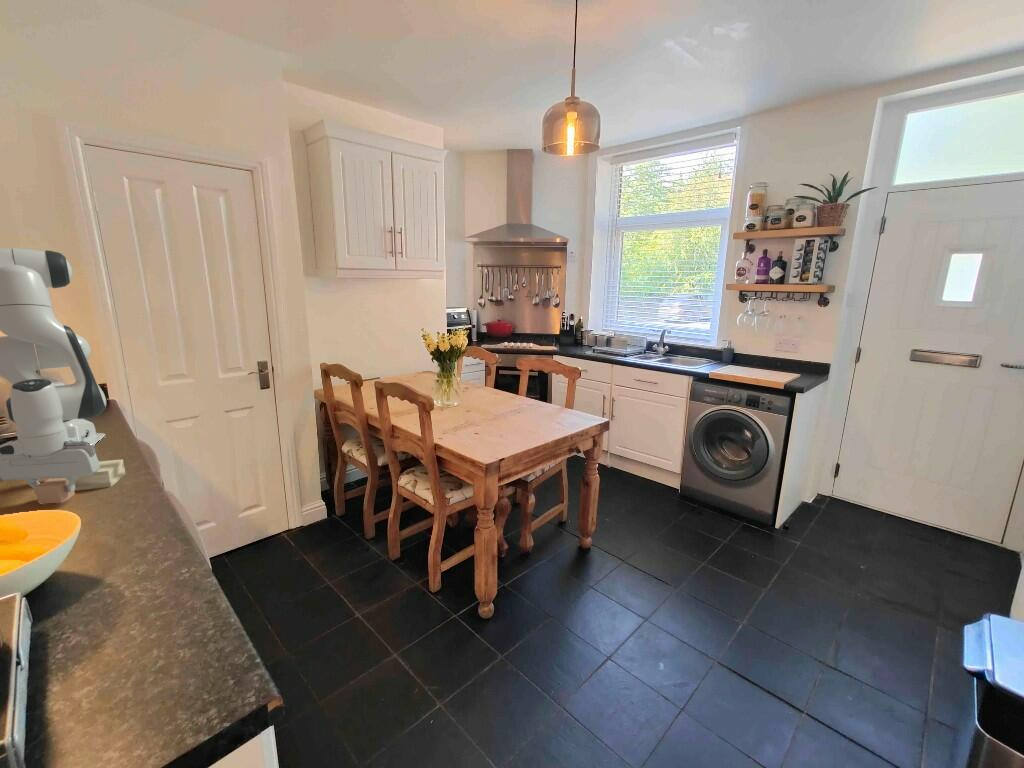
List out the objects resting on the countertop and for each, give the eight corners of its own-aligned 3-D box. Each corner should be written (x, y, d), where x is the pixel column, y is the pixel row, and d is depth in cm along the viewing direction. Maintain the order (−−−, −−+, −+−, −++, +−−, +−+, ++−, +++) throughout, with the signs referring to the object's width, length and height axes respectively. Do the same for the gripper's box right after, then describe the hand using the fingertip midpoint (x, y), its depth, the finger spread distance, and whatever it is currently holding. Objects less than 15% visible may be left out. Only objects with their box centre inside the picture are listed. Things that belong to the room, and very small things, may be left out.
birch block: (88, 478, 133) (85, 462, 132) (125, 474, 136) (122, 459, 134) (70, 491, 124) (67, 474, 123) (111, 487, 127) (108, 471, 126)
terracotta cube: (52, 495, 121) (49, 478, 120) (75, 494, 122) (71, 477, 121) (38, 504, 117) (34, 486, 116) (61, 503, 118) (57, 485, 117)
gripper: (100, 436, 121) (109, 483, 124) (7, 440, 117) (19, 489, 120) (84, 444, 115) (94, 494, 118) (-15, 449, 111) (-2, 500, 114)
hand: (55, 492), depth 119 cm, fingers closed on terracotta cube, 5 cm apart
